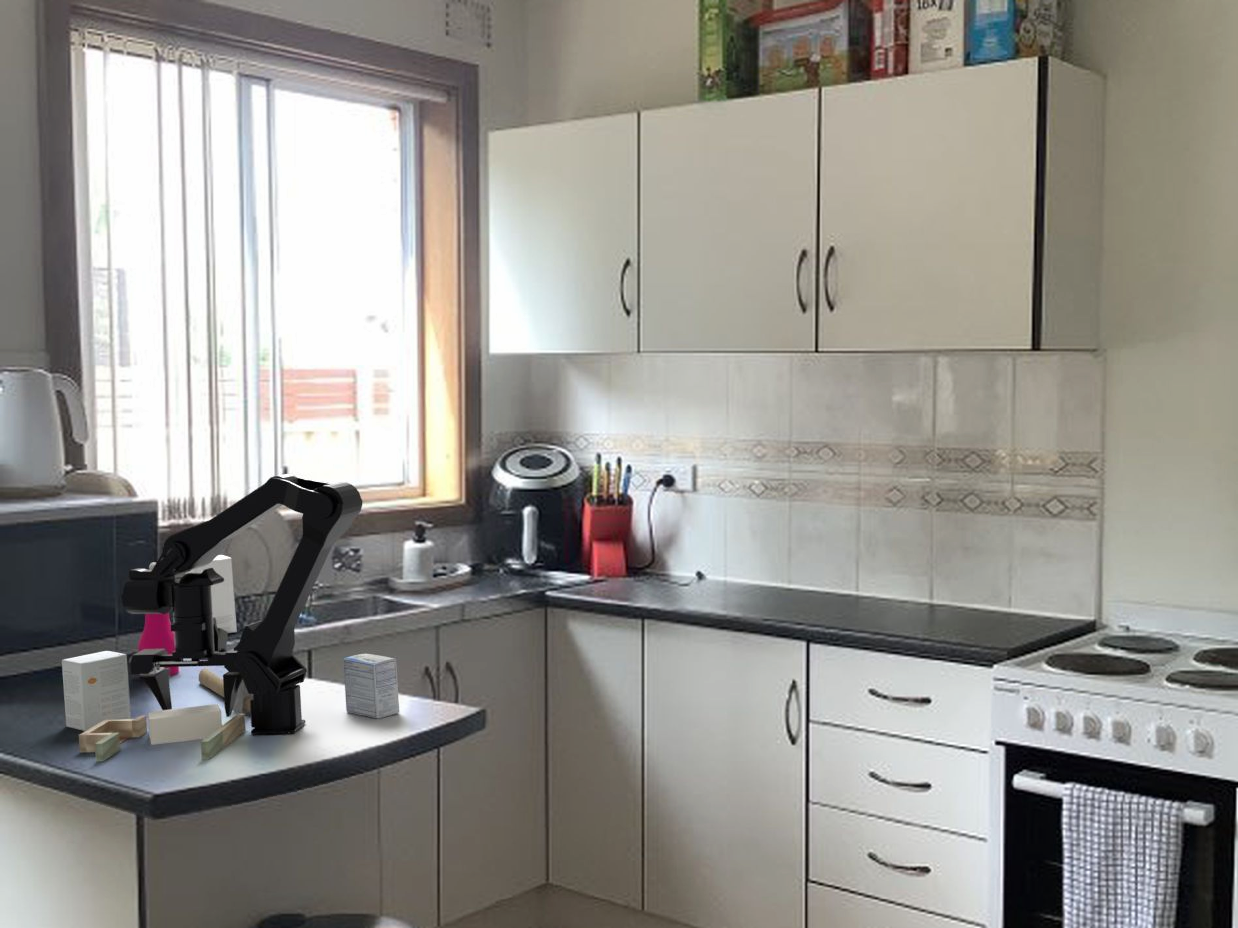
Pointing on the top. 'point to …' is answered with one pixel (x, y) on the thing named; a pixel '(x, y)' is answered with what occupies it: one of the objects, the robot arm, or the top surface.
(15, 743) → the top surface
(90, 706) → the small box
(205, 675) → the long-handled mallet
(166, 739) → the cream block
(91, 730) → the u-shaped wooden frame
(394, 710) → the medicine box
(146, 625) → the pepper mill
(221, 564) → the skincare box
